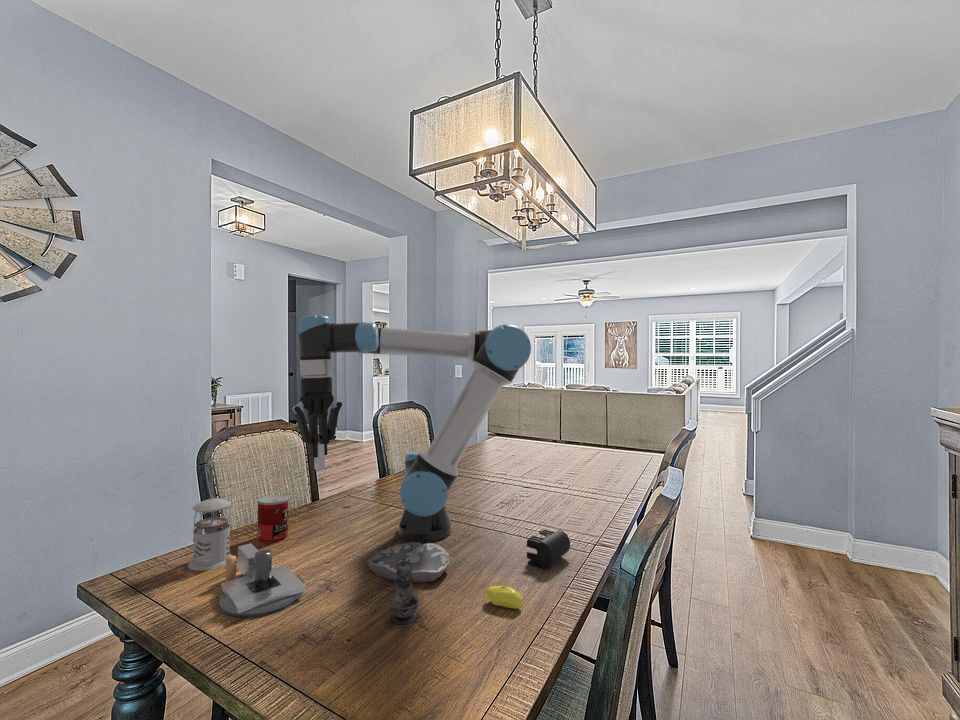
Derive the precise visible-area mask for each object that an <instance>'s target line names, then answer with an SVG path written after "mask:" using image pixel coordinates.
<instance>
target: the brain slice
mask: <svg viewBox="0 0 960 720" xmlns="http://www.w3.org/2000/svg"><path fill="white" fill-rule="evenodd" d="M404 557H405V558H406V561H409V562H410V563H411V564H412V578H413V579H414V582H413V583H431V582H432V583H433V582H435V581H436V580H438V579H439V578H440V577H441V576H442V575H443V574H444V572H445V571H446V570H447V568H448V566H449V565H450V564H451V562H452V560H453V557H452V556H450V553H449V552H448V551H447V550H446V549H445V548H443V547H442V546H441V545H439V544H436V543H433V542H426V543H423V544H422V542H418V541H408V542H405V543H397V544H395V545H393V546H388V547H386V548H383V549H381V550H377V551H376V552H374V553H372V554H371V555H369V558H368V559H367V565H368V567H369V569H370V570H371V571H372V572H373V573H374V574H375V575H376V576H380V577H384V578H386V579H389V580H391V581H394V582H395V580H396V579H397V565H398V563H399V562H401V561H403V558H404Z"/></svg>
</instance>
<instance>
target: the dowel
mask: <svg viewBox="0 0 960 720" xmlns="http://www.w3.org/2000/svg"><path fill="white" fill-rule="evenodd" d="M233 579H237V556H236V555H233V556H229V557H227V558H226V565H225V582H226V581H230V580H233Z"/></svg>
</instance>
